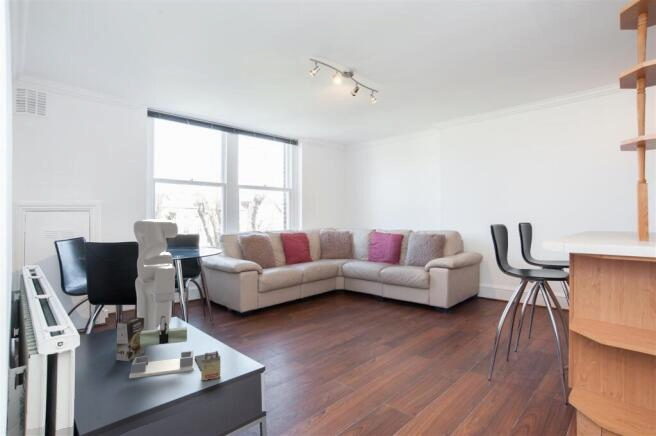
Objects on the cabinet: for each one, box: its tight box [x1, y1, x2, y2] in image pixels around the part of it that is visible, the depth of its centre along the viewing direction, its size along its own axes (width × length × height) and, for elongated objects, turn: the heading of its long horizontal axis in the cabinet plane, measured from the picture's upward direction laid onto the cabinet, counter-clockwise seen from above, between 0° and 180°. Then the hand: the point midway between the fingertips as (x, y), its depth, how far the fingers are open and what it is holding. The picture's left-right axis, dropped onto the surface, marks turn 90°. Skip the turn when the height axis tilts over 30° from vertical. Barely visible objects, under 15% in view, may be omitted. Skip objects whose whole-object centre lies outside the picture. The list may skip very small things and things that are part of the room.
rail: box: [140, 326, 188, 347], centre depth 139 cm, size 4×17×5 cm, turn 110°
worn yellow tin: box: [200, 350, 222, 381], centre depth 132 cm, size 7×4×10 cm, turn 119°
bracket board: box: [128, 350, 195, 379], centre depth 139 cm, size 11×23×4 cm, turn 110°
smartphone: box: [194, 353, 205, 372], centre depth 145 cm, size 7×1×15 cm
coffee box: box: [116, 316, 145, 362], centre depth 150 cm, size 9×6×16 cm
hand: (164, 341), depth 139 cm, fingers closed on rail, 3 cm apart
